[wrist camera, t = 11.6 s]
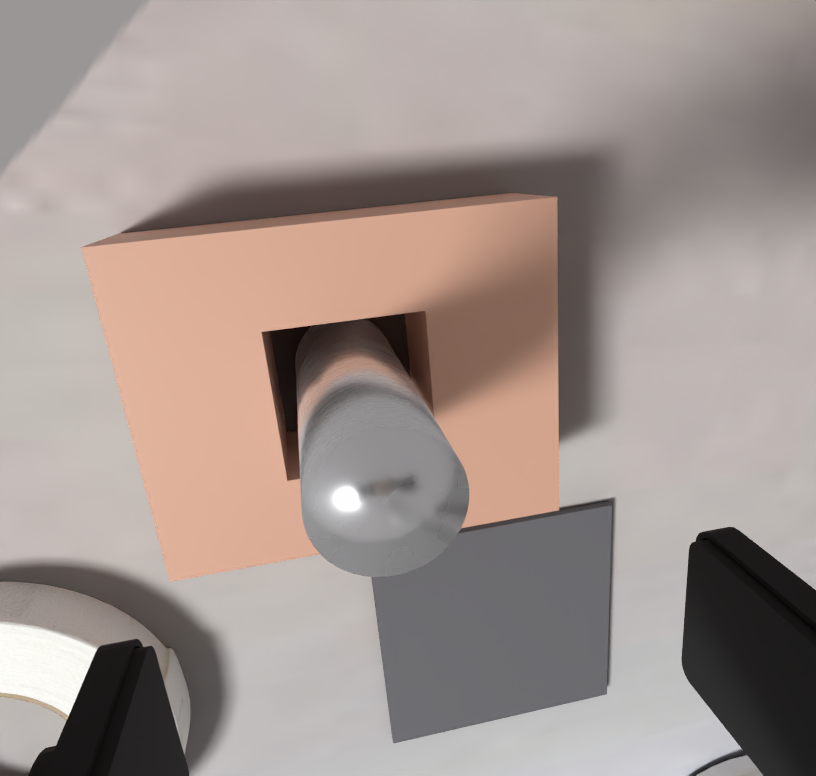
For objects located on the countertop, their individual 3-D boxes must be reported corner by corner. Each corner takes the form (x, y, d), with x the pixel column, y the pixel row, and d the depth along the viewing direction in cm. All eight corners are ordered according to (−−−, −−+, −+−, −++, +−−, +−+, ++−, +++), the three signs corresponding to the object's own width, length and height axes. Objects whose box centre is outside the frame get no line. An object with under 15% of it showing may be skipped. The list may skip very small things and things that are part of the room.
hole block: (511, 192, 25) (557, 196, 21) (519, 461, 29) (559, 510, 25) (118, 233, 23) (81, 247, 18) (187, 517, 27) (169, 581, 23)
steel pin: (386, 308, 25) (464, 413, 14) (396, 399, 27) (474, 560, 16) (288, 321, 25) (289, 441, 14) (303, 413, 26) (314, 590, 15)
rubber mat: (608, 501, 31) (612, 505, 30) (603, 688, 35) (606, 694, 34) (367, 545, 29) (368, 550, 28) (392, 736, 33) (393, 743, 33)
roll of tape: (22, 882, 32) (-2, 946, 29) (-266, 722, 26) (-328, 783, 24) (259, 711, 31) (256, 761, 29) (15, 509, 26) (-16, 547, 23)
